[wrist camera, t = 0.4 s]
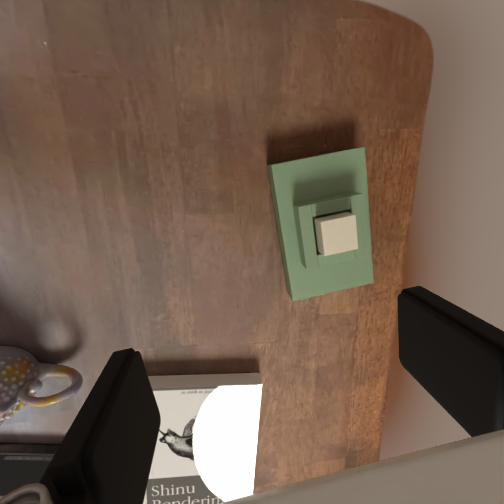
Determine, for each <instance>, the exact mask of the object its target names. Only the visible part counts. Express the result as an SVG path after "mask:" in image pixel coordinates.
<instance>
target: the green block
mask: <svg viewBox="0 0 504 504" xmlns="http://www.w3.org/2000/svg"><path fill="white" fill-rule="evenodd" d="M267 168H268V174H269V181H270V187H271V193H272V199H273V205H274V211H275V217H276V223H277V230H278V236H279V242H280V248H281V254H282V260H283V266H284V272H285V278H286V285H287V291H288V294H289V296H290V297H291V299H292V301H296V300H301V299H305V298H309V297H314V296H318V295H322V294H327V293H331V292H336V291H340V290H344V289H349V288H353V287H357V286H362V285H366V284H370V283H374V281H373V266H372V250H371V234H370V219H369V203H368V188H367V172H366V156H365V147H357V148H352V149H347V150H342V151H336V152H331V153H326V154H321V155H316V156H311V157H306V158H301V159H296V160H291V161H286V162H281V163H275V164H270V165H267ZM343 212H349V213H352V214H355V215H356V227H357V240H358V249H355V250H350V251H346V252H341V253H337V254H332V255H328V256H324V255H323V254H321V253H320V252H319V251H318V247H317V238H316V230H315V222H314V219H315V218H320V217H324V216H329V215H334V214H339V213H343Z"/></svg>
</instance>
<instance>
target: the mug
mask: <svg viewBox="0 0 504 504" xmlns="http://www.w3.org/2000/svg"><path fill="white" fill-rule="evenodd" d="M50 377H66V378H69V379H70V380H71V382H72V384H71V385H70V386H69V387H68V388H67V389H65V390H64V391H62V392H60V393H58V394H54V395H51V396H47V397H33V396H34V395H35V394H36V391H38V390H40V389H41V387H42V382H43V381H44V380H45V379H47V378H50ZM82 382H83V378H82V376H81V374H80V373H79V372H78V371H77V370H75V369H73V368H71V367H67V366H63V365H57V364H49V363H41V362H39V361H38V360H37V359H36V358H35V357H34V356H33V355H32V354H31V353H29V352H27V351H25V350H23V349H21V348H18V347H14V346H0V425H1V424H2V423H3V422H4V420H5V419H9V418H10V417H12V416H13V415H14V413H16V412H18V411H19V410H20V408H21V407H24V406H25V405H28V406H31V407H43V406H49V405H53V404H56V403H59V402H62V401H64V400H66V399H68V398H70V397H71V396H73V395H74V394H75V393H77V392H78V390H79V389H80V388H81V386H82Z"/></svg>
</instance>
